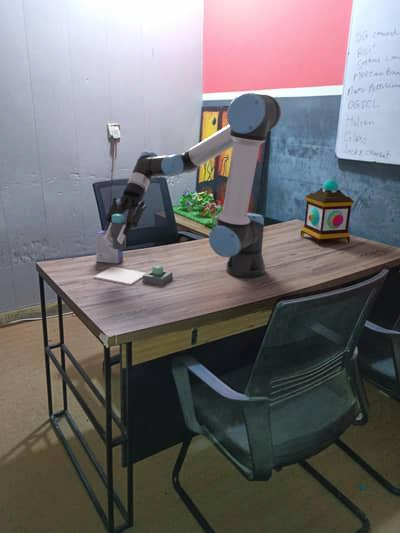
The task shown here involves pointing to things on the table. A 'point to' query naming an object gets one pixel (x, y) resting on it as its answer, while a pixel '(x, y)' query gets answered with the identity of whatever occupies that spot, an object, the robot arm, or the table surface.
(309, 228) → the decorative lantern
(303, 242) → the table surface
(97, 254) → the ink cartridge box
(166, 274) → the button housing
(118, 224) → the ball
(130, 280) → the paper pad
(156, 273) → the button
